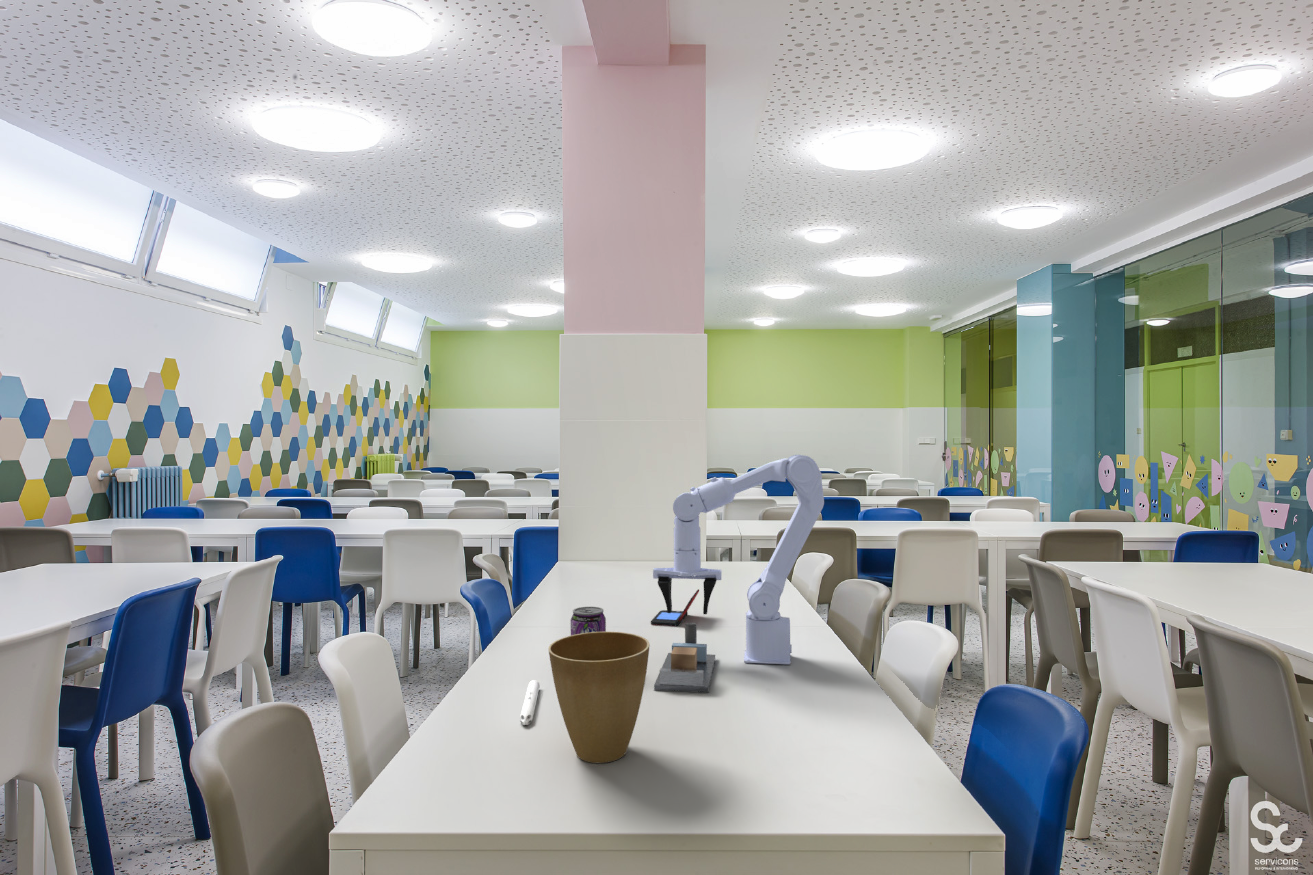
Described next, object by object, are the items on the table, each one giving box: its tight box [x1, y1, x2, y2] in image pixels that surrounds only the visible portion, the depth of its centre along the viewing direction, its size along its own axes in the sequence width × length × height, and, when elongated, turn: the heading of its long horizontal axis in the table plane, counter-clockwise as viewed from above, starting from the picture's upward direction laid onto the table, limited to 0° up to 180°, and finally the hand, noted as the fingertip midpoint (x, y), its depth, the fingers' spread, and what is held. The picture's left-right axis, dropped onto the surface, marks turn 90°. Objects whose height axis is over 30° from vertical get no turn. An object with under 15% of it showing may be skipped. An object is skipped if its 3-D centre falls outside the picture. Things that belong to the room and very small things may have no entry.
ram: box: [671, 622, 708, 662], centre depth 145 cm, size 6×7×6 cm
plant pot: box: [547, 631, 651, 764], centre depth 104 cm, size 15×15×16 cm
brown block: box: [670, 647, 697, 670], centre depth 134 cm, size 4×4×5 cm
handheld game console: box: [650, 589, 700, 627], centre depth 182 cm, size 12×11×7 cm
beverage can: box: [570, 606, 607, 636], centre depth 142 cm, size 7×7×12 cm
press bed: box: [653, 652, 716, 694], centre depth 139 cm, size 20×10×4 cm, turn 171°
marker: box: [519, 679, 541, 726], centre depth 122 cm, size 18×2×2 cm, turn 5°
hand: (687, 612), depth 150 cm, fingers open, 7 cm apart
